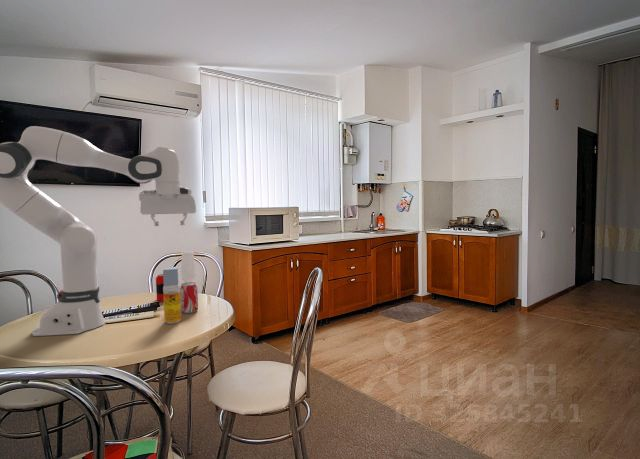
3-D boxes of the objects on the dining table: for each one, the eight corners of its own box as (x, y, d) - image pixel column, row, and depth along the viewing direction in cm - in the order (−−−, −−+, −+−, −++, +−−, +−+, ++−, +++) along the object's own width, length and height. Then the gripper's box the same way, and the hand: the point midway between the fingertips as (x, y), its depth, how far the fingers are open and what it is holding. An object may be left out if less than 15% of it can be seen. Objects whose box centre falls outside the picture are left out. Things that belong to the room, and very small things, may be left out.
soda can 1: (176, 297, 183) (175, 273, 182) (168, 301, 175) (167, 276, 174) (162, 297, 184) (161, 273, 183) (153, 301, 176) (152, 276, 175)
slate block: (163, 285, 142) (163, 269, 142) (164, 282, 147) (164, 267, 146) (178, 284, 144) (177, 269, 143) (178, 281, 148) (177, 266, 148)
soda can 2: (195, 314, 156) (193, 285, 155) (178, 314, 156) (176, 285, 155) (200, 309, 163) (199, 281, 162) (184, 309, 163) (183, 281, 162)
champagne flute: (200, 303, 172) (198, 251, 171) (192, 307, 166) (190, 253, 164) (187, 302, 174) (185, 250, 172) (178, 306, 167) (176, 252, 166)
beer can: (166, 325, 142) (164, 286, 141) (163, 321, 147) (161, 283, 146) (183, 322, 145) (181, 284, 144) (179, 318, 150) (178, 281, 149)
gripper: (137, 190, 141) (139, 227, 142) (195, 189, 147) (196, 225, 148) (139, 190, 147) (141, 226, 148) (195, 190, 153) (196, 224, 154)
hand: (169, 225), depth 148 cm, fingers open, 8 cm apart
